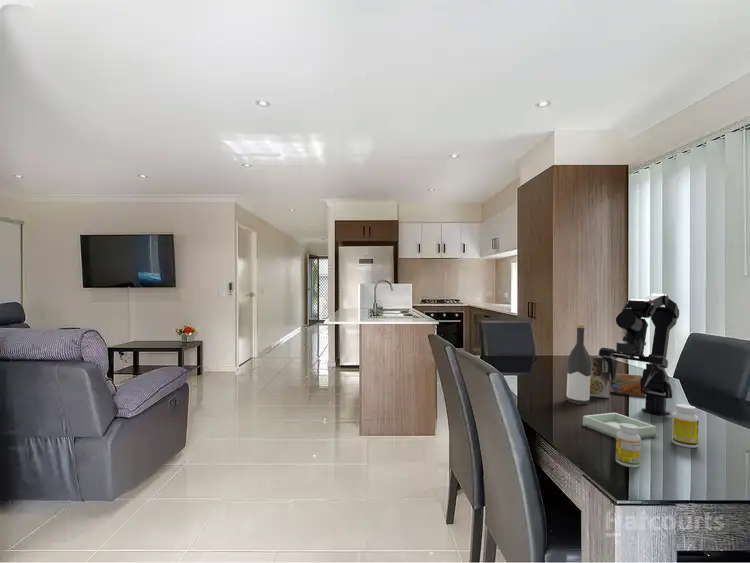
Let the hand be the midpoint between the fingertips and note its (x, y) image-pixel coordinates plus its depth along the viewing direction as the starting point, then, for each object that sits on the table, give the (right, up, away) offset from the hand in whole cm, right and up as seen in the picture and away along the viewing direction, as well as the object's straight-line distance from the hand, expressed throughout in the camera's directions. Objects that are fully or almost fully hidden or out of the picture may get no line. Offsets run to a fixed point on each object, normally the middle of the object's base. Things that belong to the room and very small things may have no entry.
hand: (627, 383), depth 138 cm
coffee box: (+10, -14, +39) cm, 43 cm away
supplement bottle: (-17, -13, -29) cm, 37 cm away
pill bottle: (+8, -14, -14) cm, 22 cm away
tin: (+26, -15, +43) cm, 53 cm away
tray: (-6, -14, -4) cm, 15 cm away
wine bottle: (-3, -14, +28) cm, 31 cm away
